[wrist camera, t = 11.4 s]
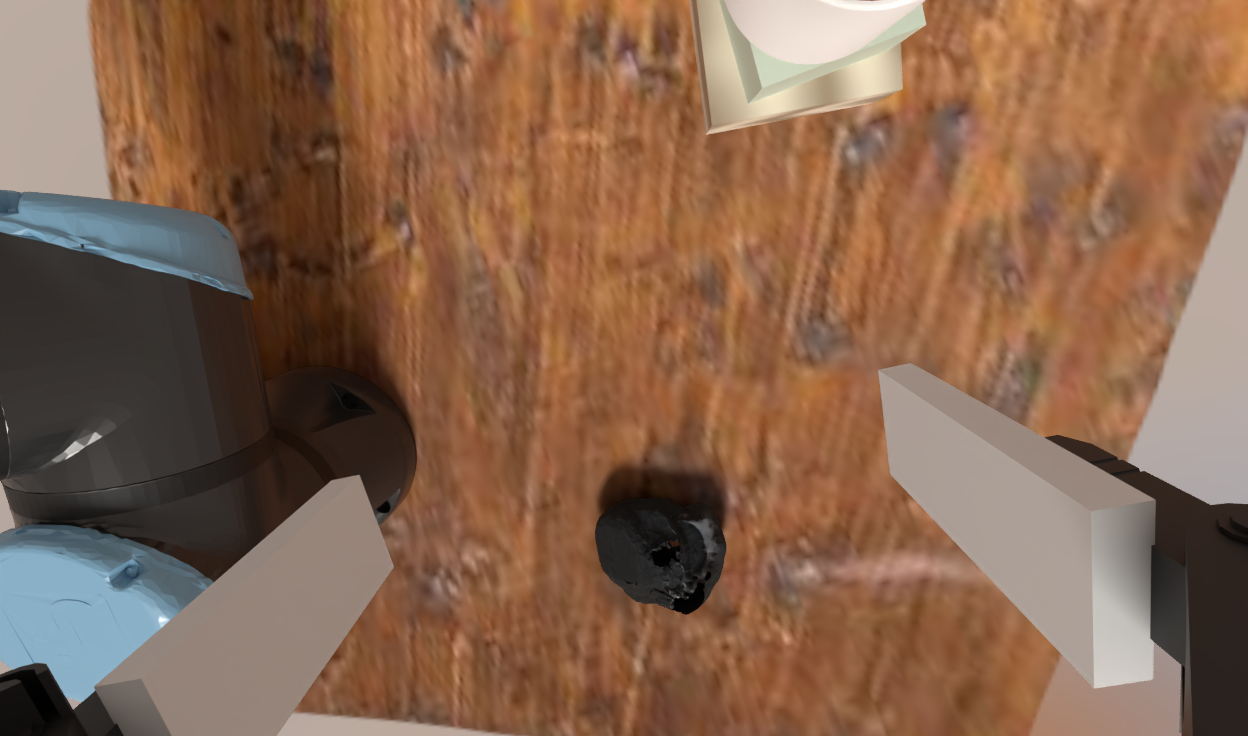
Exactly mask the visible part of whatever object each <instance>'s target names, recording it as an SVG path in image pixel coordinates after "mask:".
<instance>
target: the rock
mask: <svg viewBox="0 0 1248 736" xmlns="http://www.w3.org/2000/svg"><path fill="white" fill-rule="evenodd" d="M595 539H596V544H597V550H598V555H599V560H600V563H601V566H602V569H603V571H604V572H605V573H606V574H607V575H608V576H609V578H610V579H611V580H612V581H613V582H614V583H616V584H617V585H618V586H620V587H621V588H623V590H624V592H625V593H626V594H627V595H628V596H630V597H631V598H632V599H633V600H635V601H636V602H641V603H644V604H652V603H653V604H655V603H656V604H658V605H660V606H664V607H666V608H668V609H671V610H675V611H677V612H682V614H685V615H687V614H689V613H691V612H693V611H695V610H697V609H698V608H699V607H700V606H701V605H702V604H703V603H704V602H705V601H706V600H707V598H708V597H709V595H710V593H711V590H712V589H713V587H714V585H715V584H716V583H717V582H718V580H719V578H720V575H721V571H722V568H723V564H724V557H725V553H726V542H725V538H724V535H723V532H722V529H721V525H720V521H719V518H718V517H717V515H716V514H715V512H714V511H713V509H712V508H710V507H709V506H707V505H705V504H700V505H697V504H692V505H687V506H686V509H685V508H684V507H682V506H681V505H679V504H677V503H675V502H673V501H671V500H669V499H662V498H648V499H644V498H636V499H629V500H624V501H621V502H618V503H617V504H615V505H613V506H612V507H611V508H609V509H608V510H606V511H605V512H604V513H603V514H602V515H601V517H600V518H599V520H598V522H597V525H596V530H595ZM670 540H671V541H672V542H673V541H679V544H680V547H678V546H676V547H674V548H672V547H671V545H670ZM654 557H655V558H654ZM654 562H655V563H656V564H657V565H658V566H659V567H658V566H656V565H653V564H654Z"/></svg>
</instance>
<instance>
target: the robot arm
mask: <svg viewBox="0 0 1248 736" xmlns="http://www.w3.org/2000/svg"><path fill="white" fill-rule="evenodd" d="M252 300H254V297H253V293H252V292H251V291H250V290H249V289H248V288H247V285H246V281H245V276H244V272H243V268H242V264H241V260H240V256H239V251H238V247H237V244H236V241H235V239H234V237H233V235H232V234H231V232H230V231H229V230H228V229H227V228H226V227H225V226H224V225H223V224H222V223H220V222H219V221H217V220H216V219H214V218H212V217H210V216H207V215H205V214H201V213H198V212H194V211H188V210H182V209H176V208H170V207H164V206H157V205H150V204H142V203H134V202H126V201H118V200H109V199H101V198H91V197H81V196H70V195H61V194H49V193H38V192H23V193H20V192H16V191H7V190H0V481H1V483H2V484H3V487H4V490H5V494H6V497H7V500H8V503H9V506H10V510H11V513H12V516H13V519H14V523H15V529H9V530H7V531H4V532H2V533H1V534H0V660H1V661H2V662H3V663H4V664H5V665H7V666H8V667H9V668H11V669H12V670H11V671H8V672H6V673H4V674H1V675H0V736H276V735H277V734H278V733H279V731H280V730H281V728H282V727H283V726H284V724H285V723H286V721H287V720H288V718H289V717H290V715H291V714H292V713H293V711H294V710H295V708H296V707H297V705H298V704H299V703H300V701H301V700H302V698H303V697H304V695H305V694H306V692H307V691H308V690H309V688H310V687H311V685H312V684H313V682H314V681H315V680H316V678H317V677H318V675H319V674H320V672H321V671H322V669H323V668H324V667H325V665H326V664H327V662H328V661H329V659H330V658H331V657H332V655H333V654H334V652H335V651H336V649H337V648H338V647H339V645H340V644H341V642H342V641H343V639H344V638H345V636H346V635H347V634H348V632H349V631H350V629H351V628H352V626H353V625H354V624H355V622H356V621H357V619H358V618H359V616H360V615H361V613H362V612H363V611H364V609H365V608H366V606H367V605H368V603H369V602H370V601H371V599H372V598H373V596H374V595H375V593H376V592H377V590H378V589H379V588H380V586H381V585H382V583H383V582H384V580H385V579H386V578H387V576H388V575H389V573H390V572H391V570H392V569H393V567H394V566H393V563H392V560H391V558H390V555H389V552H388V550H387V547H386V544H385V542H384V539H383V536H382V534H381V531H380V528H379V525H380V524H382V523H383V522H384V521H385V520H386V519H387V518H388V517H389V516H390V515H391V514H392V513H393V512H394V511H395V510H396V508H397V507H398V506H399V505H400V504H401V503H402V501H403V500H404V498H405V497H406V495H407V494H408V492H409V490H410V487H411V485H412V482H413V479H414V475H415V469H416V452H415V445H414V441H413V437H412V434H411V431H410V429H409V427H408V424H407V422H406V420H405V419H404V417H403V415H402V414H401V412H400V411H399V409H398V408H397V407H396V405H395V404H394V403H393V402H392V401H391V400H390V398H389V397H387V396H386V395H385V394H384V393H383V392H382V391H381V390H380V389H378V388H377V387H376V386H374V385H373V384H372V383H370V382H368V381H367V380H365V379H363V378H361V377H359V376H357V375H355V374H353V373H350V372H347V371H344V370H341V369H337V368H331V367H323V366H310V367H302V368H297V369H293V370H290V371H287V372H285V373H282V374H280V375H278V376H276V377H273V378H271V379H269V380H267V381H265V379H264V374H263V368H262V362H261V356H260V350H259V345H258V339H257V333H256V327H255V322H254V316H253V310H252V304H251V301H252ZM878 372H879V381H880V389H881V398H882V407H883V415H884V424H885V433H886V441H887V450H888V459H889V467H890V474H891V475H892V477H893V478H894V479H895V480H896V481H897V482H898V483H899V484H900V485H901V486H902V487H903V488H904V489H905V490H906V491H907V492H908V493H909V494H910V495H911V496H912V498H913V499H914V500H915V501H916V502H917V503H918V504H919V505H920V506H921V507H922V508H923V509H924V510H925V511H926V512H927V513H928V514H929V515H930V516H931V517H932V519H933V520H934V521H935V522H936V523H937V524H938V525H939V526H940V527H941V528H942V529H943V530H944V531H945V532H946V533H947V534H948V535H949V536H950V537H951V539H952V540H953V541H954V542H955V543H956V544H957V545H958V546H959V547H960V548H961V549H962V550H963V551H964V552H965V553H966V554H967V555H968V556H969V557H970V558H971V560H972V561H973V562H974V563H975V564H976V565H977V566H978V567H979V568H980V569H981V570H982V571H983V572H984V573H985V574H986V575H987V576H988V577H989V578H990V579H991V581H992V582H993V583H994V584H995V585H996V586H997V587H998V588H999V589H1000V590H1001V591H1002V592H1003V593H1004V594H1005V595H1006V596H1007V597H1008V598H1009V599H1010V601H1011V602H1012V603H1013V604H1014V605H1015V606H1016V607H1017V608H1018V609H1019V610H1020V611H1021V612H1022V613H1023V614H1024V615H1025V616H1026V617H1027V618H1028V619H1029V620H1030V622H1031V623H1032V624H1033V625H1034V626H1035V627H1036V628H1037V629H1038V630H1039V631H1040V632H1041V633H1042V634H1043V635H1044V636H1045V637H1046V638H1047V639H1048V640H1049V641H1050V643H1051V644H1052V645H1053V646H1054V647H1055V648H1056V649H1057V650H1058V651H1059V652H1060V653H1061V654H1062V655H1063V656H1064V657H1065V658H1066V659H1067V660H1068V661H1069V663H1070V664H1071V665H1072V666H1074V668H1075V669H1076V670H1077V671H1078V672H1079V673H1080V674H1081V675H1082V676H1083V677H1084V678H1085V679H1086V680H1087V681H1088V682H1089V684H1090V685H1091V686H1092V687H1093V688H1100V687H1107V686H1113V685H1120V684H1127V683H1133V682H1140V681H1146V680H1153V648H1154V642H1155V643H1156V644H1157V645H1159V646H1160V647H1161V648H1162V649H1163V650H1165V651H1166V652H1167V653H1168V654H1169V655H1170V656H1172V657H1173V658H1174V659H1175V660H1176V661H1178V662H1179V663H1180V664H1181V698H1180V730H1179V732H1180V733H1182V736H1248V504H1233V503H1226V504H1218V505H1209V504H1207V503H1205V502H1203V501H1201V500H1200V499H1198V498H1196V497H1194V496H1192V495H1190V494H1188V493H1186V492H1184V491H1182V490H1180V489H1178V488H1176V487H1174V486H1172V485H1170V484H1168V483H1167V482H1165V481H1163V480H1160V479H1159V478H1157V477H1155V476H1153V475H1151V474H1149V473H1147V472H1145V471H1142V472H1140V470H1139V468H1137V467H1135V466H1134V465H1132V464H1130V463H1128V462H1126V461H1124V460H1118V459H1117V457H1116V456H1114V455H1112V454H1110V453H1108V452H1106V451H1104V450H1102V449H1100V448H1099V447H1097V446H1095V445H1093V444H1090V443H1086V442H1083V441H1079V440H1075V439H1071V438H1068V437H1064V436H1060V435H1055V436H1050V437H1042V436H1041V435H1039V434H1037V433H1035V432H1033V431H1032V430H1030V429H1028V428H1026V427H1024V426H1023V425H1021V424H1019V423H1017V422H1016V421H1014V420H1012V419H1010V418H1008V417H1007V416H1005V415H1003V414H1001V413H999V412H998V411H996V410H994V409H992V408H990V407H989V406H987V405H985V404H983V403H982V402H980V401H978V400H976V399H974V398H973V397H971V396H969V395H967V394H965V393H964V392H962V391H960V390H958V389H957V388H955V387H953V386H951V385H949V384H948V383H946V382H944V381H942V380H940V379H939V378H937V377H935V376H933V375H931V374H930V373H928V372H926V371H924V370H923V369H921V368H919V367H917V366H915V365H914V364H912V363H909V364H904V365H900V366H895V367H890V368H885V369H880V370H878ZM66 697H67V698H70V699H73V700H76V701H80V702H82V703H81V704H79V705H78V706H77V707H76V708H75V709H74V710H73V709H72V707H71V705H70V704H69V702H68V700H67V699H66Z"/></svg>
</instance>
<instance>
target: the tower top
mask: <svg viewBox="0 0 1248 736" xmlns="http://www.w3.org/2000/svg"><path fill="white" fill-rule="evenodd" d="M719 2H720V6H721V9H722V13H723V16H724V20H725V24H726V27H727V31H728V34H729V38H730V42H731V45H732V49H733V52H734V56H735V59H736V63H737V67H738V70H739V74H740V77H741V81H742V85H743V88H744V92H745V95H746V99H747V102H748V104H750V103H753V102H756V101H758V100H761V99H763V98H766V97H769V96H771V95H774V94H776V93H779V92H782V91H784V90H787V89H789V88H792V87H795V86H797V85H800V84H802V83H805V82H808V81H810V80H813V79H815V78H818V77H821V76H823V75H826V74H828V73H831V72H834V71H836V70H839V69H841V68H844V67H847V66H849V65H852V64H854V63H857V62H860V61H862V60H865V59H867V58H870V57H873V56H875V55H878V54H880V53H883V52H886V51H888V50H890V49H891V48H893V47H894V46H896V45H897V44H899V43H900V42H902V41H903V40H905V39H906V38H908V37H909V36H910V35H912V34H913V33H915V32H916V31H918V30H919V29H921V28H922V27H924V26H925V25H926V22H925V17H924V12H923V7H922V3H921V4H920V5H919V6H917V7H916V8H915V9H913V10H912V11H911V12H909V13H908V14H907V15H905V16H904V17H903V18H901V19H900V20H899V21H897V22H896V23H895V24H893V25H892V26H891V27H889V28H888V29H887V30H885V31H884V32H883V33H881V34H880V35H879V36H878V37H876V38H875V39H874V40H872V41H871V42H869V43H868V44H867V45H865V46H864V47H862V48H861V49H859V50H857V51H856V52H854V53H852V54H850V55H848V56H845V57H843V58H840V59H838V60H834V61H831V62H827V63H821V64H810V65H805V64H794V63H789V62H785V61H782V60H779V59H776V58H774V57H772V56H770V55H768V54H766V53H764V52H763V51H761V50H760V49H758V48H757V47H755V46H754V45H753V44H752V43H751V42H750V41H749V40H748V39H747V38H746V37H745V36H744V35H743V34H742V33H741V32H740V30H739V29H738V27H737V26H736V24H735V23H734V21H733V19H732V17H731V15H730V14H729V12H728V9H727V7H726V4H725V1H724V0H719Z"/></svg>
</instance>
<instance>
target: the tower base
mask: <svg viewBox="0 0 1248 736" xmlns="http://www.w3.org/2000/svg"><path fill="white" fill-rule="evenodd" d="M689 6H690V13H691V21H692V29H693V37H694V45H695V53H696V61H697V69H698V77H699V84H700V92H701V100H702V108H703V116H704V124H705V132H706V135H707V134H712V133H717V132H723V131H728V130H733V129H738V128H744V127H749V126H754V125H760V124H765V123H770V122H775V121H781V120H786V119H791V118H797V117H802V116H807V115H812V114H818V113H823V112H828V111H834V110H839V109H844V108H849V107H855V106H860V105H865V104H870V103H876V102H878V101H880V100H882V99H884V98H886V97H888V96H890V95H892V94H894V93H896V92H898V91H900V90H902V89H903V84H902V61H901V42H900V43H899V44H897V45H896V46H894V47H893V48H891V49H890V50H888V51H886V52H883V53H880V54H878V55H875V56H873V57H870V58H867V59H865V60H862V61H860V62H857V63H854V64H852V65H849V66H847V67H844V68H841V69H839V70H836V71H834V72H831V73H828V74H826V75H823V76H821V77H818V78H815V79H813V80H810V81H808V82H805V83H802V84H800V85H797V86H795V87H792V88H789V89H787V90H784V91H782V92H779V93H776V94H774V95H771V96H769V97H766V98H763V99H761V100H758V101H756V102H753V103H750V104H748V102H747V99H746V95H745V92H744V88H743V85H742V81H741V77H740V74H739V70H738V67H737V63H736V59H735V56H734V52H733V49H732V45H731V42H730V38H729V34H728V31H727V27H726V24H725V20H724V16H723V13H722V9H721V6H720V2H719V0H689Z"/></svg>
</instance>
